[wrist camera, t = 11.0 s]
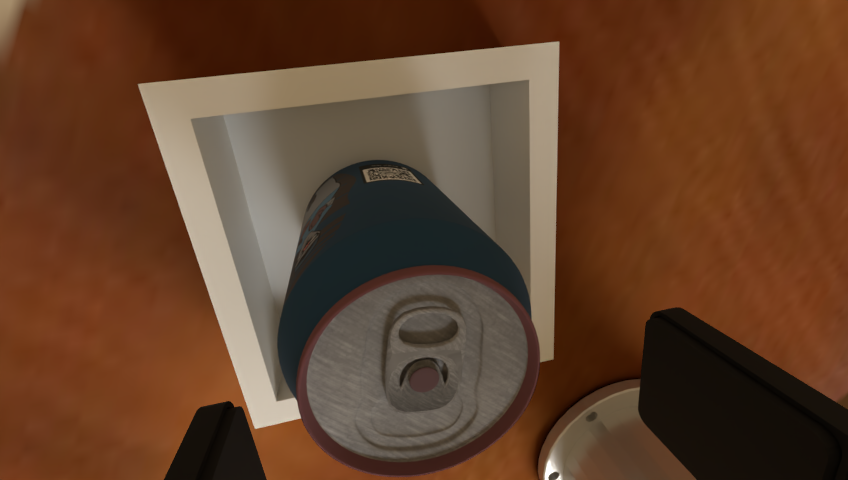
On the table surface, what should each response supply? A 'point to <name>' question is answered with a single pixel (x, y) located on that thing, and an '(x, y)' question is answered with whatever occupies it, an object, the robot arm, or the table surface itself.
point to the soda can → (403, 326)
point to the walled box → (345, 145)
